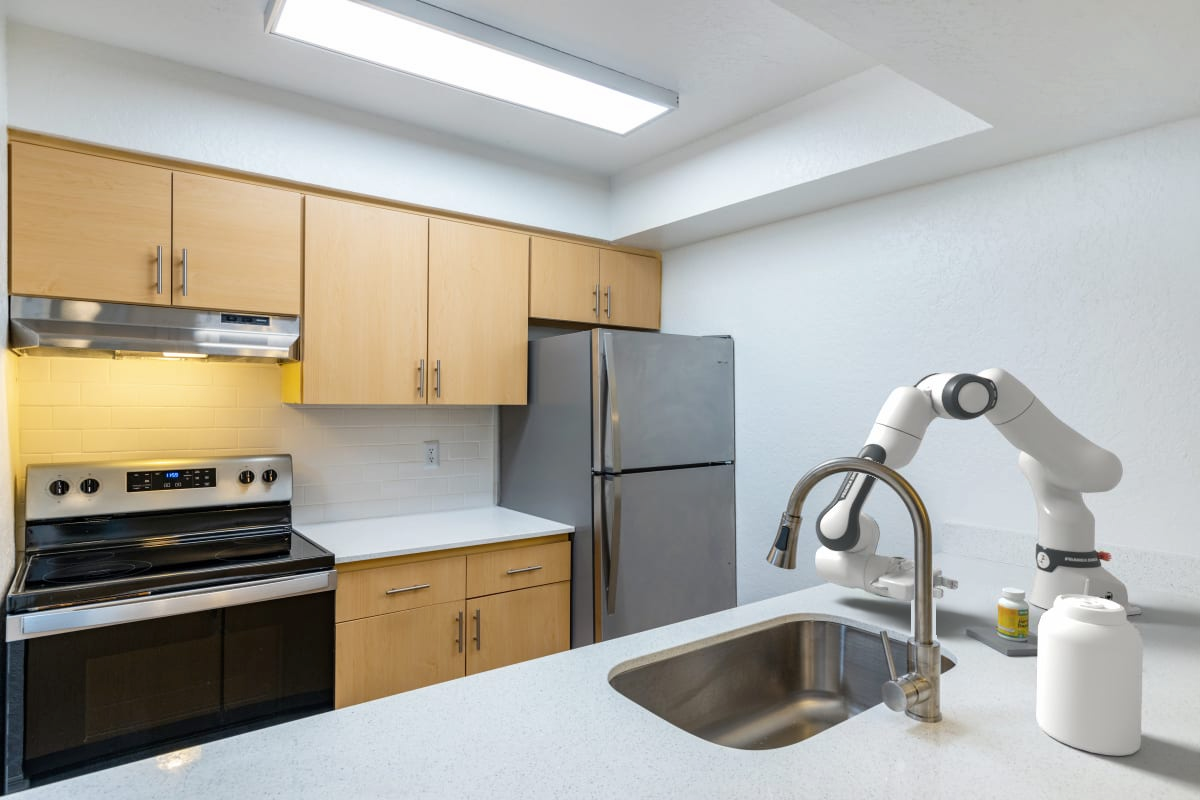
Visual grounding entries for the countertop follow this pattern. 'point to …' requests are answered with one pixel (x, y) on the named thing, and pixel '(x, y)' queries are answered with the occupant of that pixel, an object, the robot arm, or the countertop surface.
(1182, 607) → the countertop surface
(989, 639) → the coaster
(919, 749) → the countertop surface
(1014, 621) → the supplement bottle
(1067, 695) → the white plastic jar
